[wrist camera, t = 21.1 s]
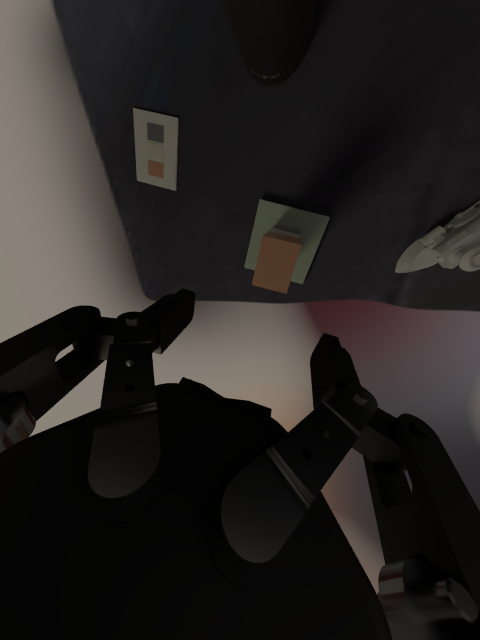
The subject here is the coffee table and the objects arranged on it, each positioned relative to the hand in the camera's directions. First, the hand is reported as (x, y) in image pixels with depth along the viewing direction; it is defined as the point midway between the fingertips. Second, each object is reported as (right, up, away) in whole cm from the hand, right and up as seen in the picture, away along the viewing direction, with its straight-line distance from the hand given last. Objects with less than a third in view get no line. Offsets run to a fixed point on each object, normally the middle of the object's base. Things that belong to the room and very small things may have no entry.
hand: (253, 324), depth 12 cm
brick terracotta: (+5, +9, +16) cm, 19 cm away
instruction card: (-15, +30, +23) cm, 41 cm away
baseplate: (+7, +15, +25) cm, 30 cm away
